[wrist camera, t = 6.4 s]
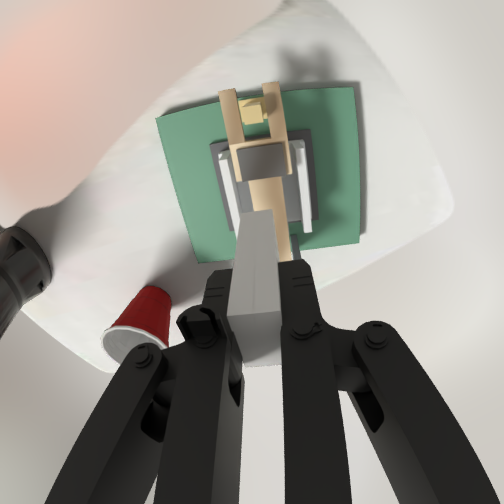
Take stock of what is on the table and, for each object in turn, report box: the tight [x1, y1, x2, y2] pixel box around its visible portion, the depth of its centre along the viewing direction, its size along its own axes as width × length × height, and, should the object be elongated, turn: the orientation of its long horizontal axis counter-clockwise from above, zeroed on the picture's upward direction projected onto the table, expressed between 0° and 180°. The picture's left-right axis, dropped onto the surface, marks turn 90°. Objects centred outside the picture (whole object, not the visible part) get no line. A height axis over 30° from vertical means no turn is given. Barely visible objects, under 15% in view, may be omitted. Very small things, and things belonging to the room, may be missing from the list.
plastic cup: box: [100, 286, 171, 365], centre depth 39 cm, size 11×11×12 cm
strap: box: [218, 82, 292, 262], centre depth 25 cm, size 5×20×1 cm, turn 10°
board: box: [155, 87, 360, 263], centre depth 28 cm, size 22×20×9 cm
